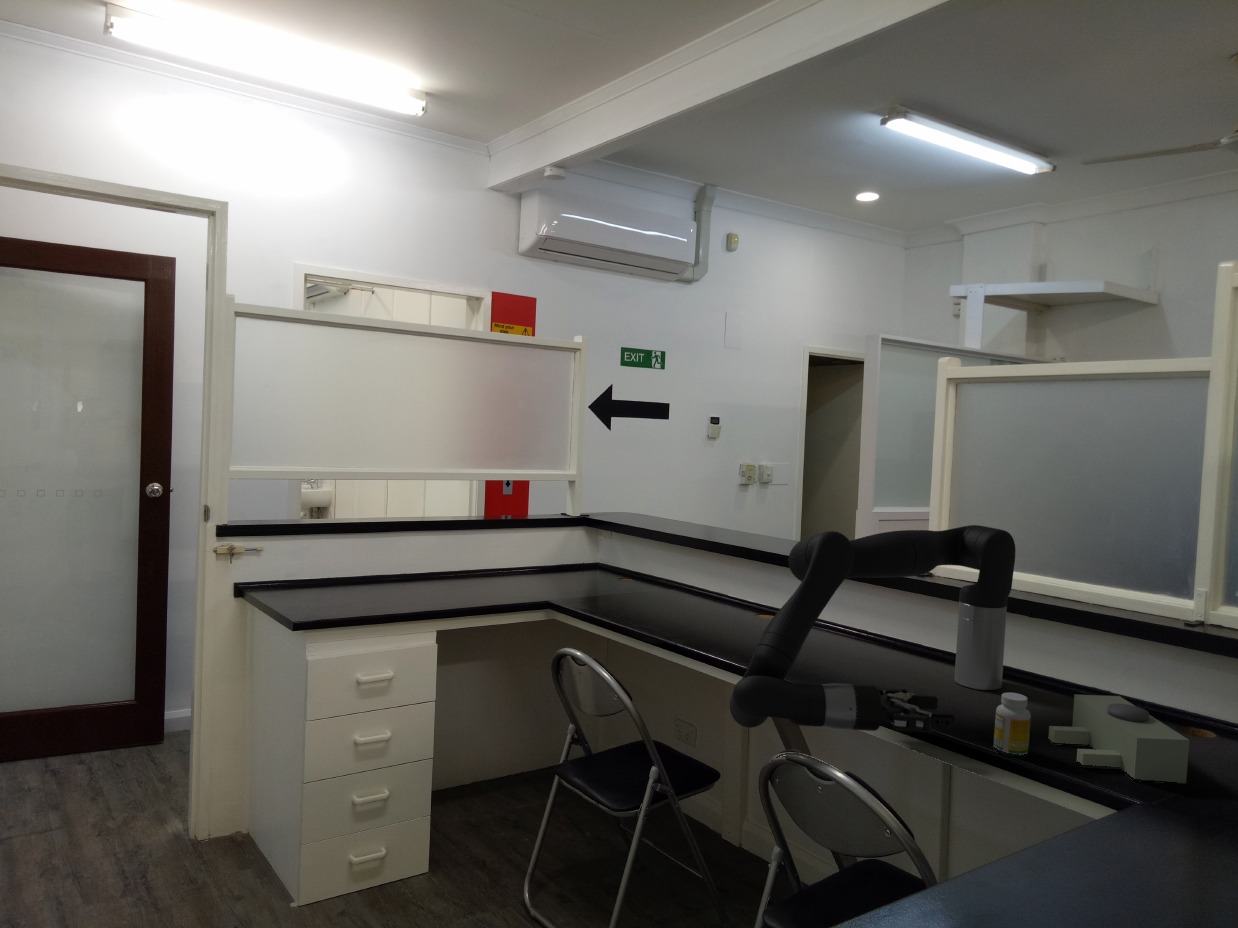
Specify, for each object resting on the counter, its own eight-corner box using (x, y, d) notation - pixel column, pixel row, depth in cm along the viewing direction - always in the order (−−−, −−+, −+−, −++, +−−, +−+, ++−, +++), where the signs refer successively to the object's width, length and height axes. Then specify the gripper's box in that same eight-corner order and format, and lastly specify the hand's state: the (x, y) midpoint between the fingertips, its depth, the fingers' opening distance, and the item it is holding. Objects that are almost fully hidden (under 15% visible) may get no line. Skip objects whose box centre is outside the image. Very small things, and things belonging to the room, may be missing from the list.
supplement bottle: (988, 750, 145) (992, 695, 145) (1000, 742, 149) (1003, 688, 149) (1022, 760, 142) (1025, 703, 141) (1032, 751, 146) (1036, 696, 145)
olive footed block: (1038, 730, 155) (1040, 687, 155) (1116, 733, 155) (1120, 690, 154) (1095, 779, 135) (1098, 729, 135) (1185, 783, 135) (1189, 733, 134)
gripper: (860, 699, 139) (961, 704, 138) (840, 671, 153) (932, 676, 152) (857, 744, 139) (958, 749, 139) (838, 712, 153) (930, 717, 153)
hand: (945, 711), depth 145 cm, fingers open, 8 cm apart
